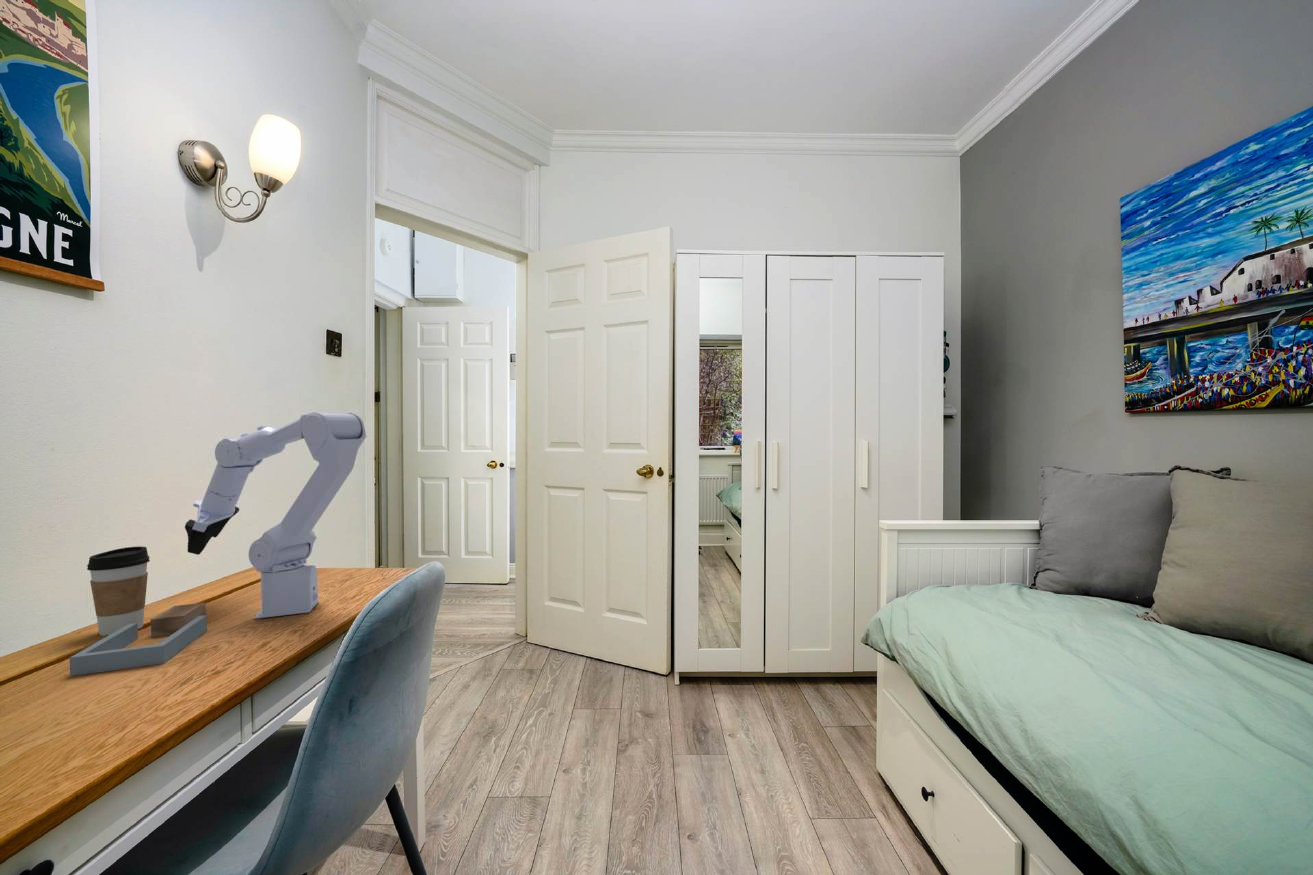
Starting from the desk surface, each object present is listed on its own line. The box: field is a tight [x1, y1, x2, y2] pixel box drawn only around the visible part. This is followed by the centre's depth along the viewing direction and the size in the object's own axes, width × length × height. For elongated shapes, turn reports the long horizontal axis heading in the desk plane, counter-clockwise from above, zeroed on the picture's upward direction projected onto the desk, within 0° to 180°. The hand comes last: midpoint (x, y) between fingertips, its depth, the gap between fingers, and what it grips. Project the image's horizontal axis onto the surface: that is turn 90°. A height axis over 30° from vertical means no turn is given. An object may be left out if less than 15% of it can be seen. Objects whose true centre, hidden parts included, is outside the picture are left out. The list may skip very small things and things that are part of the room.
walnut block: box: [150, 602, 207, 638], centre depth 102 cm, size 5×8×4 cm, turn 18°
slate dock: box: [69, 614, 208, 677], centre depth 91 cm, size 11×16×3 cm
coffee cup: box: [86, 545, 150, 637], centre depth 102 cm, size 8×8×15 cm
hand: (202, 543), depth 116 cm, fingers open, 7 cm apart
